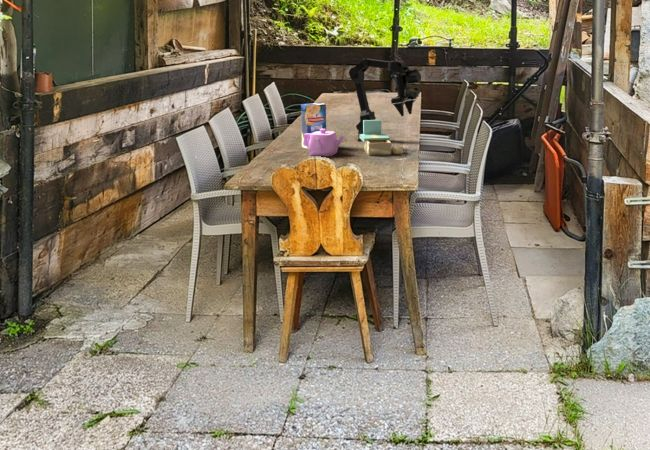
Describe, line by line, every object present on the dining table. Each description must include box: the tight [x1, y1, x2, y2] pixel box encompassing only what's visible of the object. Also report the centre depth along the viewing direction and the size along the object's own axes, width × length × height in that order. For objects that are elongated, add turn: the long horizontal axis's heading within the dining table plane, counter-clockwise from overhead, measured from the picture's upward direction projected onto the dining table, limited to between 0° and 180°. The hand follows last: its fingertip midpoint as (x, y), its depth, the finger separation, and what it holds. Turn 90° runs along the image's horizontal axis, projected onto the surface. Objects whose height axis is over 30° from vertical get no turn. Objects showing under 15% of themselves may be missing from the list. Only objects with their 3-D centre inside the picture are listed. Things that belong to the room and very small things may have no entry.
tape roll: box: [392, 145, 404, 155], centre depth 417 cm, size 5×5×3 cm
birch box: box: [363, 139, 392, 157], centre depth 417 cm, size 14×11×6 cm
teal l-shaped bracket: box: [360, 119, 391, 143], centre depth 424 cm, size 14×13×9 cm
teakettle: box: [303, 128, 346, 157], centre depth 417 cm, size 17×17×12 cm
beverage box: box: [300, 102, 327, 149], centre depth 436 cm, size 7×11×22 cm, turn 118°
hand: (406, 115), depth 440 cm, fingers open, 9 cm apart
